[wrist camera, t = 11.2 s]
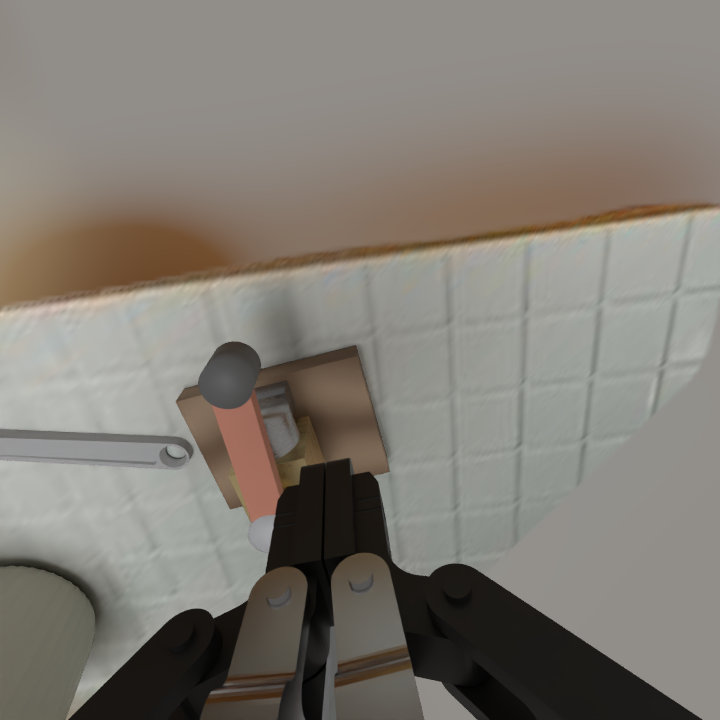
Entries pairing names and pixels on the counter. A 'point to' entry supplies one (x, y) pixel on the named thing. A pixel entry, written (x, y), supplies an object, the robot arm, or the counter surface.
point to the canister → (41, 643)
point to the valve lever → (244, 433)
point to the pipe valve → (284, 436)
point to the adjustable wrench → (92, 449)
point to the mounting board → (303, 415)
